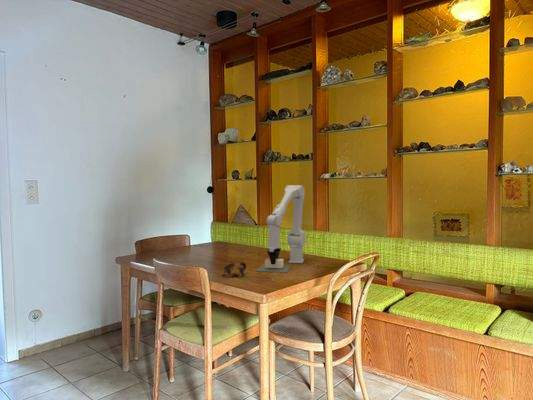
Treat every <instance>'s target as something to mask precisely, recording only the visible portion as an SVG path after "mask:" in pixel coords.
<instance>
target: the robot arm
mask: <svg viewBox="0 0 533 400" xmlns="http://www.w3.org/2000/svg"><path fill="white" fill-rule="evenodd" d="M305 194H306V190H305V187H304V186H303V185H302V184H300V185H297V184H296V185H293V184H292V185H290V184H287V185H286V186H285V188H284V194H283V195H284V196H283V197H282V200H281V201H280V203H279V204H277V205H276V206H275V208H274V210H273V211H272V213H271V214H270V215H268V216H267V217H266V221H265V223H266V225H267V230H268V245H266V248H268V250H267V252H266V253H267V254H268V257H269V259H270V262H271V264H275V263H276V259H279V255H280V252H281V250H282V248H280V247H281V245H280V240H281V239H280V237H281V234H280V231H281V229H280V226H281V225H282V222H283V217H284V215H285V213H286V211H287V206H288V205H289V203H290V202H291V200H292V202H293V214H292V228H291V229H290V230H289V231H288V233H287V234H288V235H287V239H286V242H287V244H288V246H289V247H290V248H289V255H290V256H289V260H288V263H289V264H291V263H293V264H303V263H304V261H305V258H303V257H304V250H303V249H304V247H305V245H306V243H307V237H306V233H305V232H304V231H303V230H302V225H303V209H304V208H303V207H304V200H305V196H306V195H305Z"/></svg>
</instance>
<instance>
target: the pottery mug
mask: <svg viewBox="0 0 533 400" xmlns="http://www.w3.org/2000/svg"><path fill="white" fill-rule="evenodd" d="M234 267H235V268H236V269H238V270H239V272H238V273H236V274H237V277H238V278H241V277H243V276H245V273H244V272H245V271H246V269H247V264H246V263H245V262H244V261H241V262H238V261H237V260H235V261H233V262H231V263H229V264H227V265H225V266H224V267H223V269H224V270H223V273H227V274H228V275H230V274H231V273H232V270H234Z"/></svg>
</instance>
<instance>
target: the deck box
mask: <svg viewBox="0 0 533 400" xmlns="http://www.w3.org/2000/svg"><path fill="white" fill-rule="evenodd" d="M284 260H285V259H284V258H278V259H276V263H275V264H271V262H270V258H266V259H265V260H264V264H265V268H283V267H284V265H285V264H284V262H285V261H284Z"/></svg>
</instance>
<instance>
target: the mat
mask: <svg viewBox="0 0 533 400" xmlns="http://www.w3.org/2000/svg"><path fill="white" fill-rule="evenodd" d="M292 267H293V266H292V265H290V264H284V267H283V268H265V263H262V264H261V266H259V267H258V268H257V269H256V270H255V272H262V273H263V272H264V273H281V274H286V273H288V271H290V269H291V268H292Z"/></svg>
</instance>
